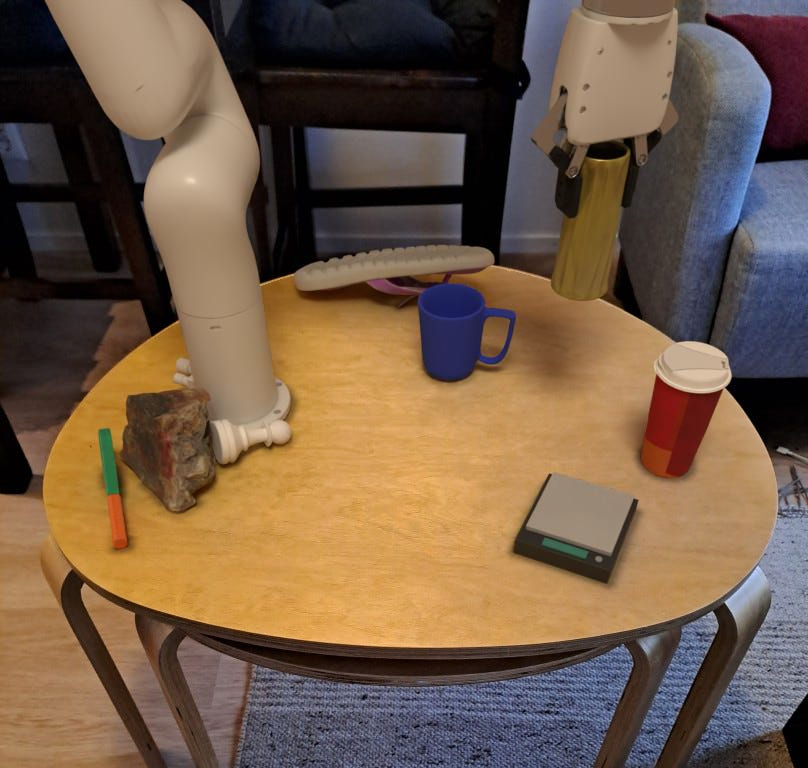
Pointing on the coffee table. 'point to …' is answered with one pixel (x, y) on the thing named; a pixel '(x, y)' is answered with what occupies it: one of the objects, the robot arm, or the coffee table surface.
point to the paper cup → (682, 405)
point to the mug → (456, 330)
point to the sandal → (394, 268)
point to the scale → (576, 526)
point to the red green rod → (112, 489)
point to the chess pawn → (244, 438)
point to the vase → (592, 225)
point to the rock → (170, 443)
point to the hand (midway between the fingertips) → (592, 205)
